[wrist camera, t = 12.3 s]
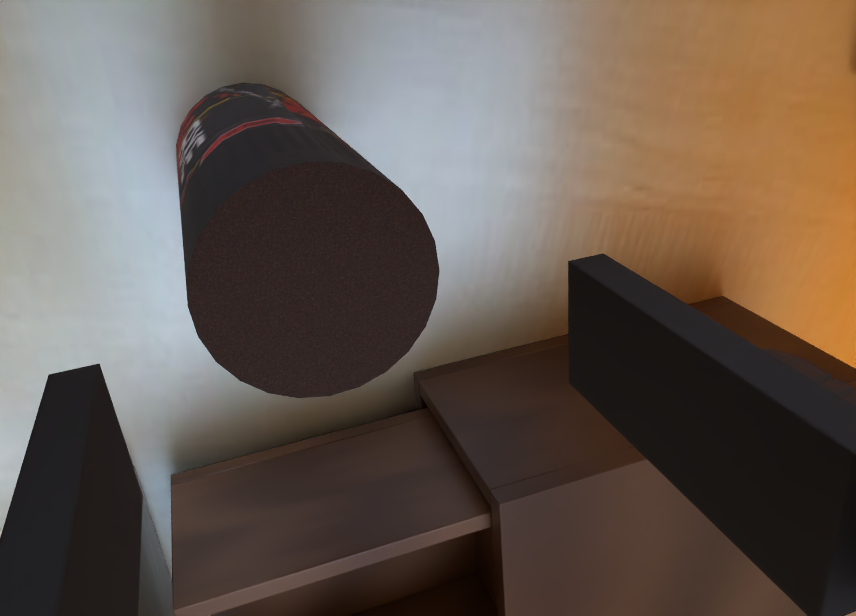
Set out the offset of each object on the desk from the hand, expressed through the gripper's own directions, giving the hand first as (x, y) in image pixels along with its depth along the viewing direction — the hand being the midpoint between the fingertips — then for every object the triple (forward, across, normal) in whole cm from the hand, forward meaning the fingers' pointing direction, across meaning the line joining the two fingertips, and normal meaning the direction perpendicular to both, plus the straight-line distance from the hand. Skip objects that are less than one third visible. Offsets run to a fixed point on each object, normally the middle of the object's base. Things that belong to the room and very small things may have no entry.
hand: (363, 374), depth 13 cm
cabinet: (+19, +15, -19) cm, 31 cm away
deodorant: (+20, 0, 0) cm, 20 cm away
